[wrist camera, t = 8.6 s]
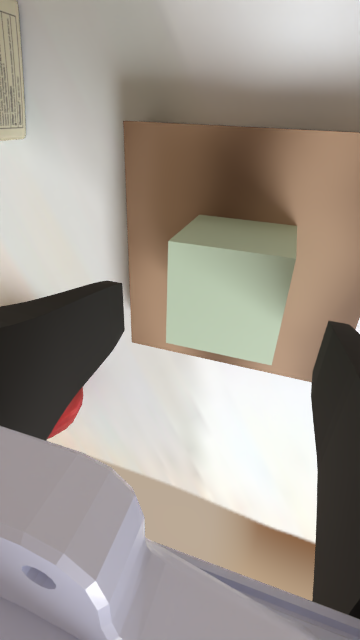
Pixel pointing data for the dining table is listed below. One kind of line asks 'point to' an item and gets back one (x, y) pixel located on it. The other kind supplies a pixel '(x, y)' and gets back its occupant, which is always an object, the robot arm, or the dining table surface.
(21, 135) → the skincare box
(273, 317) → the sage cube
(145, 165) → the light brown block
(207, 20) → the dining table surface
